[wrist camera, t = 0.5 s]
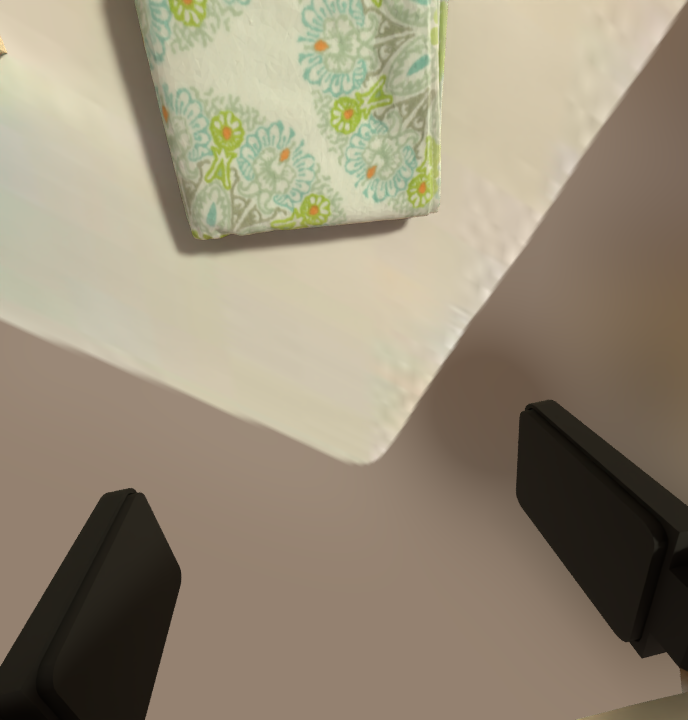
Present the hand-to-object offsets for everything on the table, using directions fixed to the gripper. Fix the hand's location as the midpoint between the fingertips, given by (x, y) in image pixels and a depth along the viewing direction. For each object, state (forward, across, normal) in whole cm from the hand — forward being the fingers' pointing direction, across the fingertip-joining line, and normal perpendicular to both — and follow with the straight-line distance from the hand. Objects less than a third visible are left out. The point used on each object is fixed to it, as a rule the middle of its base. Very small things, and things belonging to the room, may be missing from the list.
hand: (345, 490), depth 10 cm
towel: (+30, -3, -12) cm, 32 cm away
